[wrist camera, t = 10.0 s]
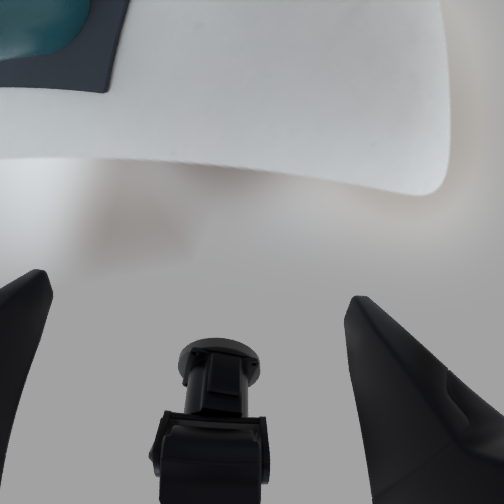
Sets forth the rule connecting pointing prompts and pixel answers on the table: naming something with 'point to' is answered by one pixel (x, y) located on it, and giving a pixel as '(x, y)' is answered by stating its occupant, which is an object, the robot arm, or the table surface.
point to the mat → (74, 55)
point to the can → (39, 26)
